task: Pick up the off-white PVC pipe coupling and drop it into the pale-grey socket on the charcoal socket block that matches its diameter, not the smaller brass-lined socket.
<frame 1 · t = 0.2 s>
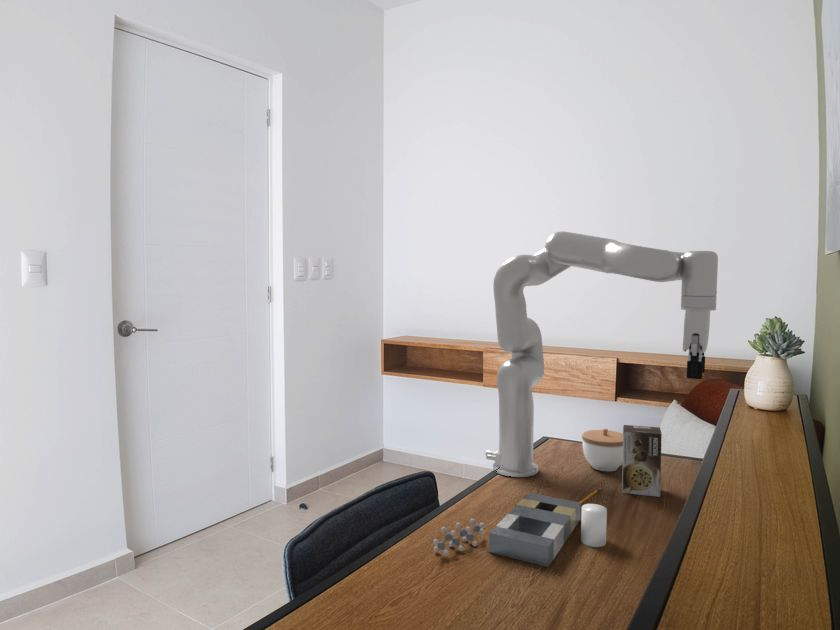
hand: (695, 375, 139), 31 cm above the table, fingers open, 9 cm apart
molecular model: (459, 549, 118), on the table
pencil: (584, 502, 143), on the table
socket block: (537, 535, 124), on the table
lidded bowl: (604, 467, 167), on the table
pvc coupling: (593, 541, 121), on the table
coffee box: (640, 491, 149), on the table
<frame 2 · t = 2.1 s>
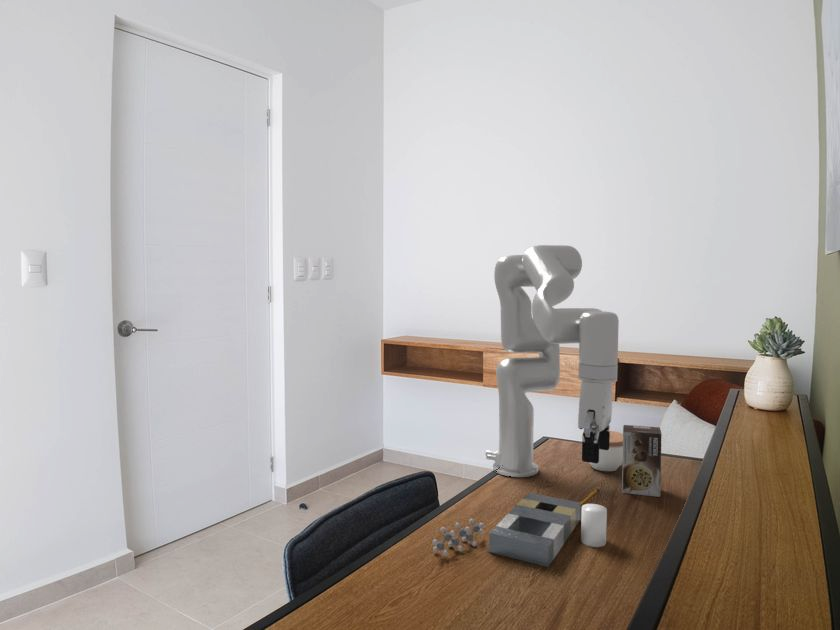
hand: (595, 455, 120), 18 cm above the table, fingers open, 9 cm apart
nothing on the table moved.
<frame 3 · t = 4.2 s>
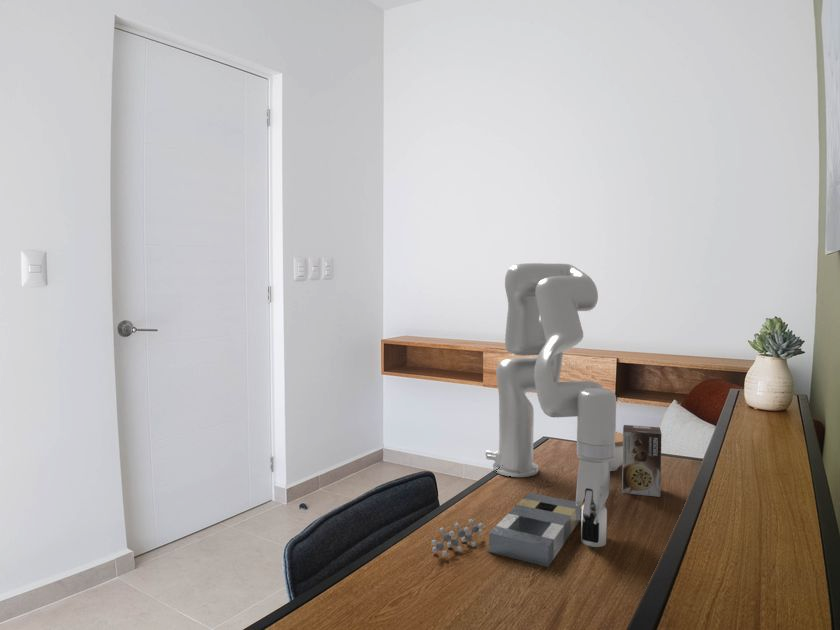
hand: (593, 534, 121), 1 cm above the table, fingers closed on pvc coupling, 5 cm apart
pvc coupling: (593, 541, 121), on the table, touching gripper
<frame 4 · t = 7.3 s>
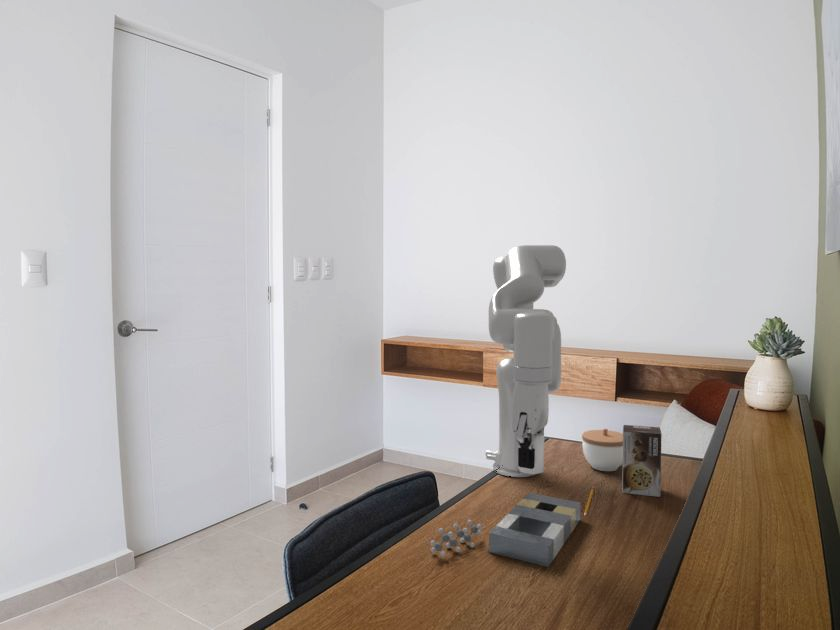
hand: (531, 462, 118), 17 cm above the table, fingers closed on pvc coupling, 5 cm apart
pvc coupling: (531, 469, 118), point 16 cm above the table, touching gripper
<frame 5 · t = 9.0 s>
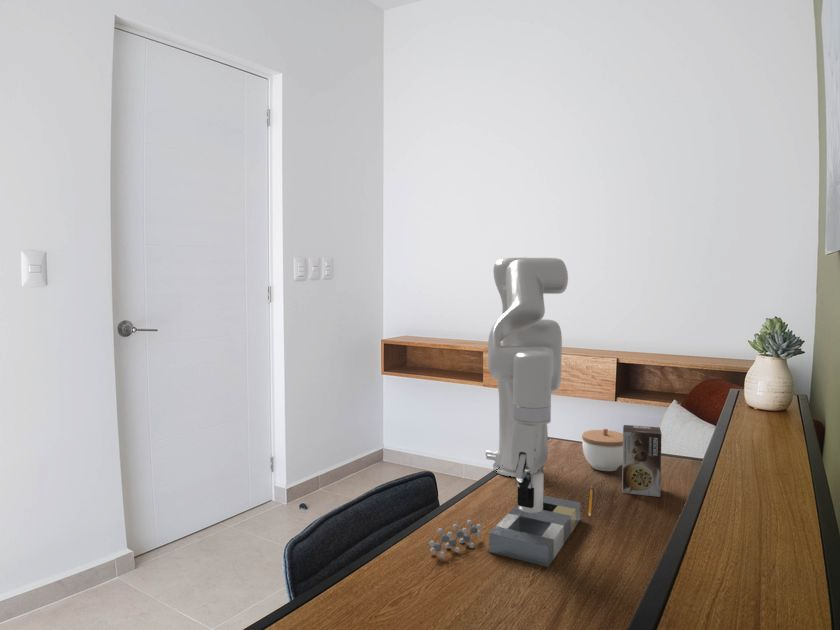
hand: (530, 500, 119), 9 cm above the table, fingers closed on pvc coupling, 5 cm apart
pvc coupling: (530, 507, 119), point 8 cm above the table, touching gripper
when the fingers open (5 cm above the table, at t = 10.5 s): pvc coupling drops 3 cm, resting in socket block.
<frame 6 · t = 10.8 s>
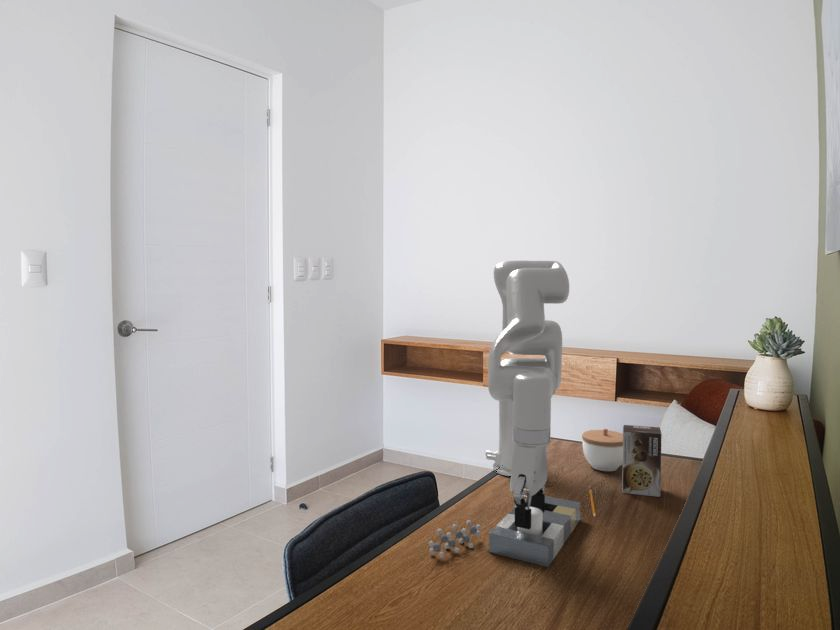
hand: (530, 518, 119), 5 cm above the table, fingers open, 8 cm apart
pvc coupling: (529, 544, 119), resting in socket block
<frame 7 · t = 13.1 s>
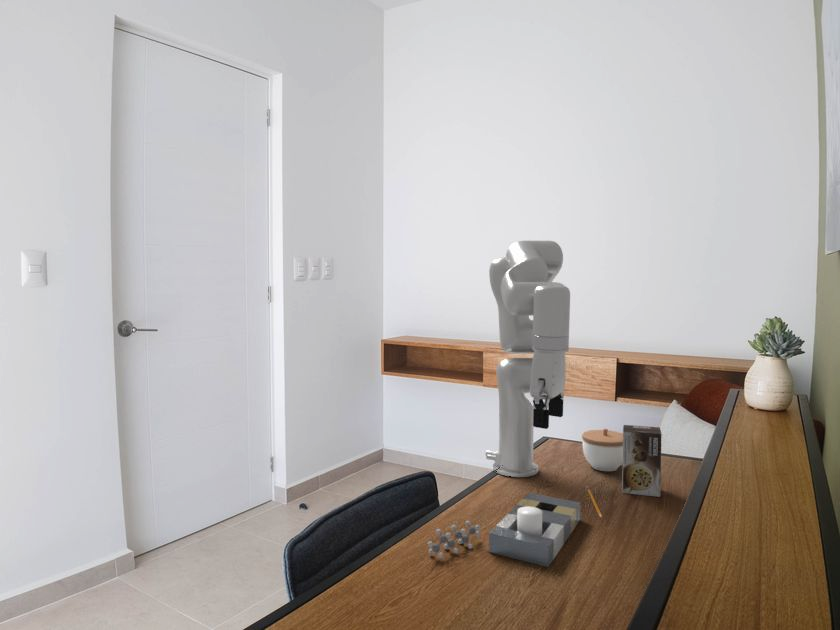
hand: (548, 421, 126), 23 cm above the table, fingers open, 9 cm apart
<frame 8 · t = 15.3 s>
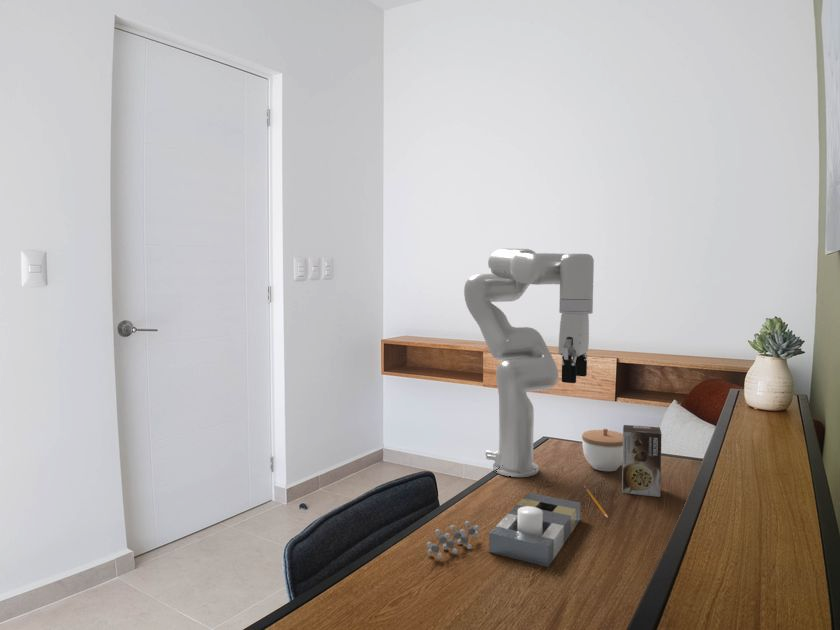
hand: (574, 379, 138), 30 cm above the table, fingers open, 9 cm apart
at the end: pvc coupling 0.0 cm from the target spot on the socket block, point 0.0 cm above the socket block's base; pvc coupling tilted 1°; the gripper is holding nothing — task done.
